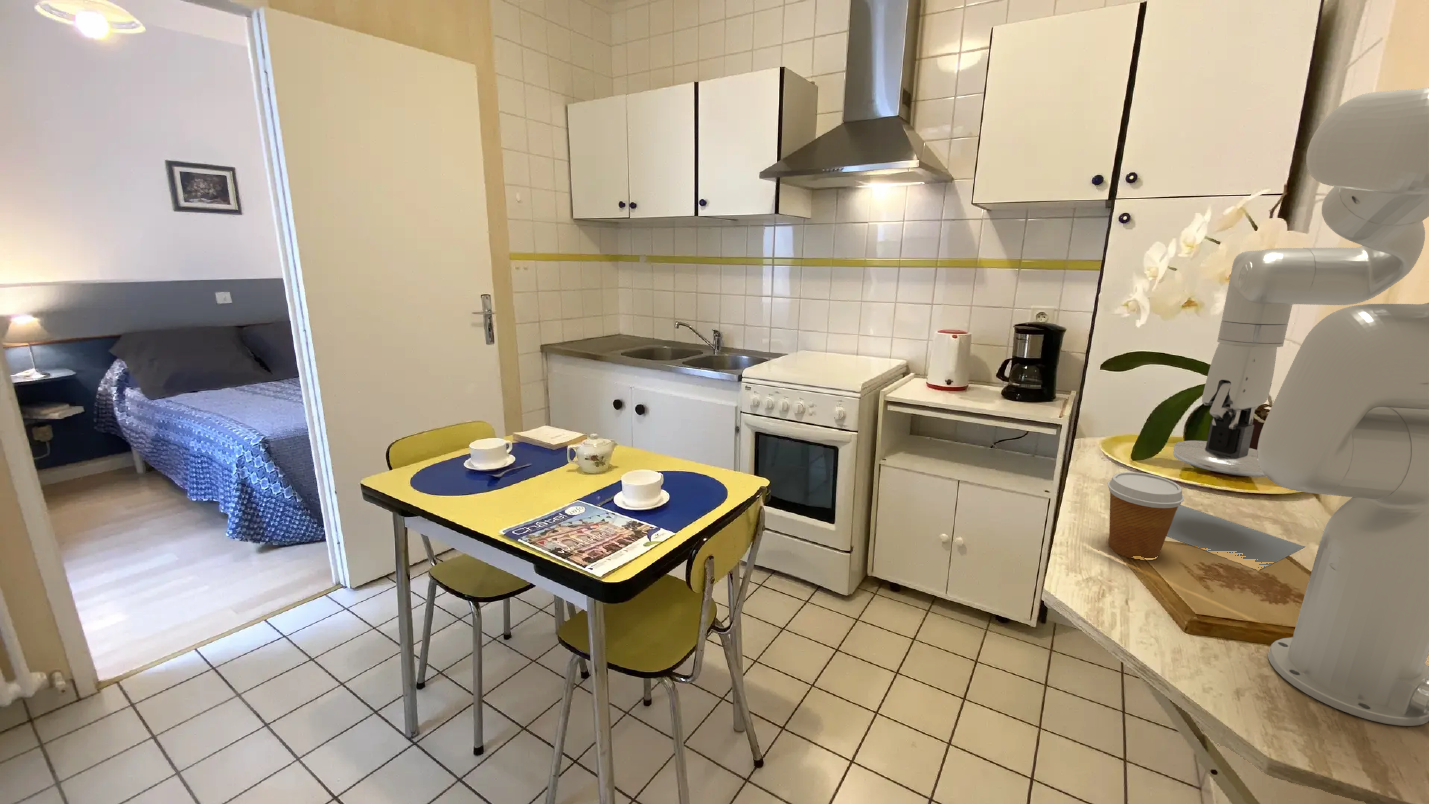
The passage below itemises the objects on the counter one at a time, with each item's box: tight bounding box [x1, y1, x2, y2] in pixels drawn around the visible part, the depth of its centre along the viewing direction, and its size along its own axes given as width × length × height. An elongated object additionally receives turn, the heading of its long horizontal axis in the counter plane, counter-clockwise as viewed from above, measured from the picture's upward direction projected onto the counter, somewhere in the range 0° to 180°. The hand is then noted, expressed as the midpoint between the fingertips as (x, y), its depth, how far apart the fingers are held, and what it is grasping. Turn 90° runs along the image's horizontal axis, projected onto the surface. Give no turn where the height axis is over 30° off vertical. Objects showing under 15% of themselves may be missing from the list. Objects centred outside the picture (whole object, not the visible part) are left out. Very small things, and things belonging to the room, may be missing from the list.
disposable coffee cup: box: [1107, 471, 1185, 559], centre depth 91 cm, size 10×10×12 cm
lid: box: [1172, 419, 1267, 478], centre depth 93 cm, size 13×13×6 cm
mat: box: [1166, 504, 1306, 568], centre depth 98 cm, size 20×15×1 cm
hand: (1226, 448), depth 93 cm, fingers closed on lid, 2 cm apart
